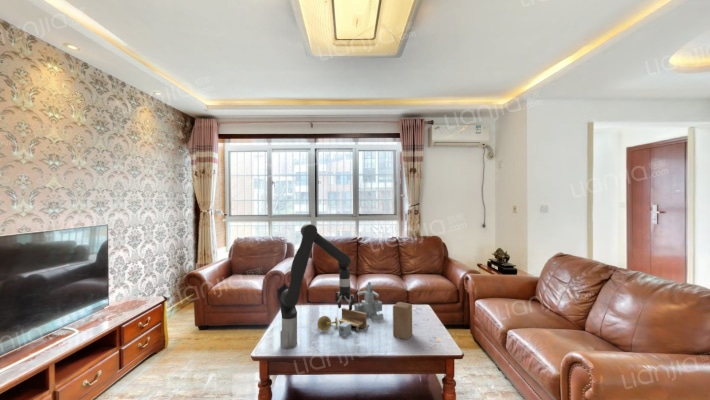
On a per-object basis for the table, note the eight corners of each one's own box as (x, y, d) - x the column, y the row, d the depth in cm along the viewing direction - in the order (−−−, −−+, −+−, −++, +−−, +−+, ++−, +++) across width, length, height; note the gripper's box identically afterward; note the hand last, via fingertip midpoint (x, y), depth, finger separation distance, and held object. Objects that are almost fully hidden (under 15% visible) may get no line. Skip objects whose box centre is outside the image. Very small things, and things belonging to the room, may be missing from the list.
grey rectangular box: (344, 336, 185) (344, 327, 185) (338, 334, 188) (338, 325, 188) (351, 332, 192) (351, 323, 192) (345, 330, 194) (344, 321, 194)
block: (407, 340, 179) (407, 308, 179) (392, 336, 184) (392, 305, 185) (412, 334, 188) (412, 303, 188) (398, 330, 193) (398, 301, 193)
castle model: (352, 314, 222) (352, 282, 222) (372, 311, 229) (372, 279, 229) (362, 323, 206) (362, 288, 206) (383, 318, 213) (383, 285, 214)
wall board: (360, 332, 191) (360, 317, 192) (336, 325, 202) (336, 311, 202) (368, 326, 201) (368, 311, 201) (345, 320, 212) (345, 306, 212)
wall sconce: (335, 315, 208) (339, 313, 185) (336, 329, 204) (341, 329, 182) (316, 317, 205) (318, 316, 183) (316, 331, 201) (319, 332, 179)
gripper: (332, 284, 191) (333, 308, 191) (350, 287, 184) (350, 313, 183) (339, 281, 197) (339, 305, 197) (356, 284, 190) (357, 309, 190)
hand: (345, 309), depth 190 cm, fingers open, 8 cm apart
